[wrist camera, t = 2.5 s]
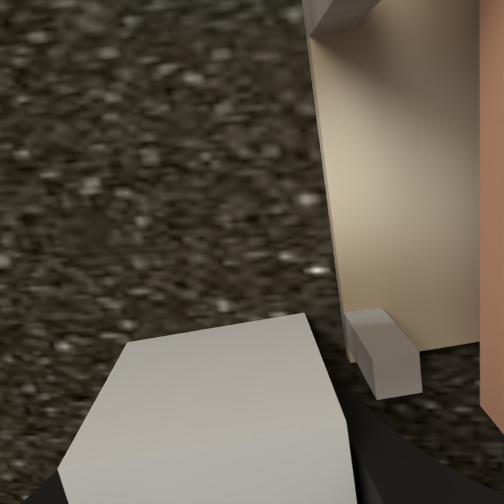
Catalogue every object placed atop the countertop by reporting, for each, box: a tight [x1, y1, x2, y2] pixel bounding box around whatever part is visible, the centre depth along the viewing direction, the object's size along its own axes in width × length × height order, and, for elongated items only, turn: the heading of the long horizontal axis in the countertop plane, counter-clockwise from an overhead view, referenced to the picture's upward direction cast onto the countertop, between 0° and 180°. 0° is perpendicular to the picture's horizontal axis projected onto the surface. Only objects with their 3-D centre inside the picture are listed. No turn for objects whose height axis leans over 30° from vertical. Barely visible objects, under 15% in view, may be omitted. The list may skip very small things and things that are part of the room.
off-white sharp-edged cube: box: [58, 313, 357, 504], centre depth 11 cm, size 5×5×5 cm
